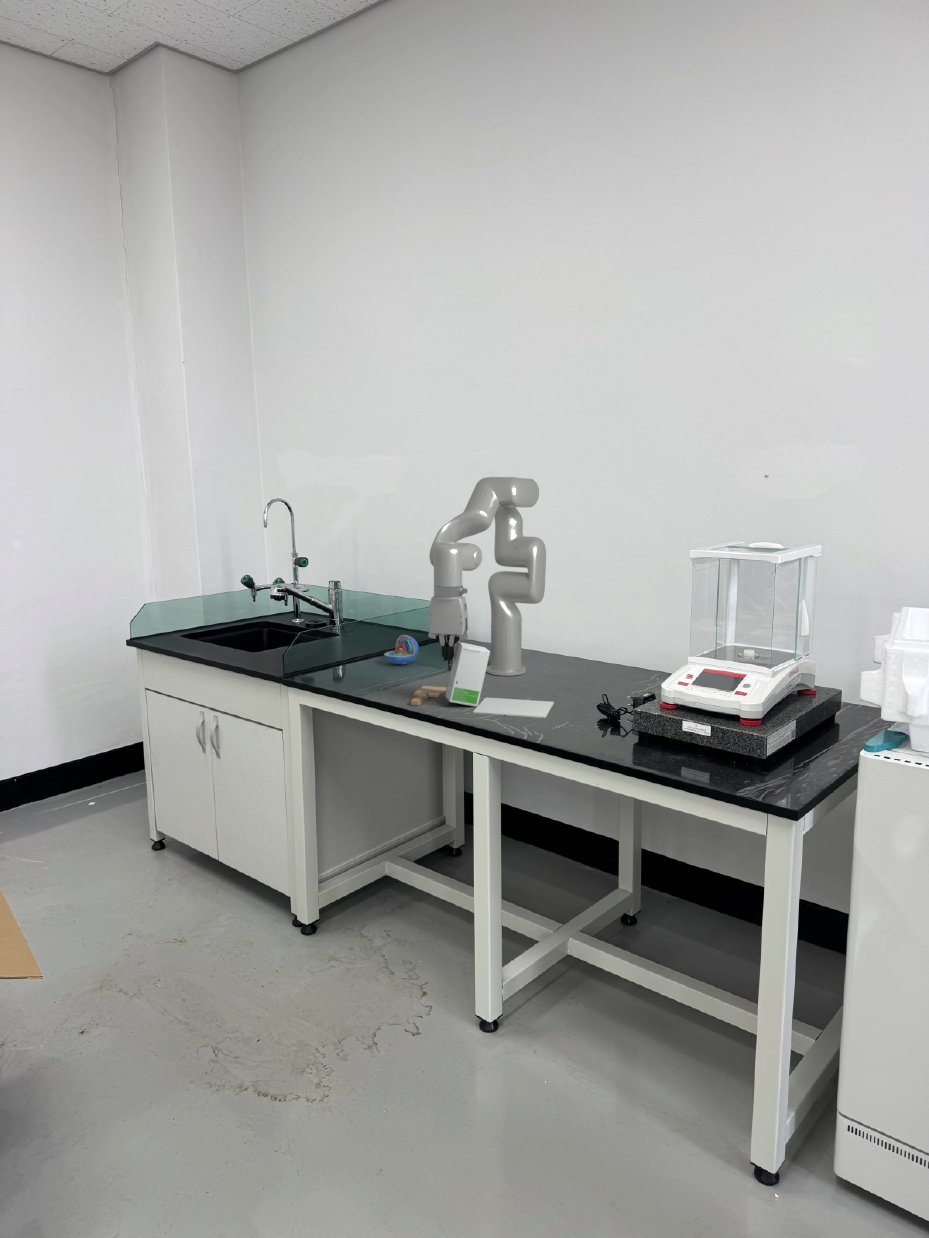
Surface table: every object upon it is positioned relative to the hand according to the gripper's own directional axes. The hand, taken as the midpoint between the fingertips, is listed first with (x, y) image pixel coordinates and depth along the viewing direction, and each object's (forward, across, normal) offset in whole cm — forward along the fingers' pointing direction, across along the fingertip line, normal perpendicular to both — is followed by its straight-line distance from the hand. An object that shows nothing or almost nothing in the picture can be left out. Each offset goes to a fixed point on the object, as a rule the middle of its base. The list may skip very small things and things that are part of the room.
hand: (448, 659), depth 233 cm
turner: (+12, +8, -6) cm, 16 cm away
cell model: (+12, +28, -43) cm, 53 cm away
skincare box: (+12, -4, 0) cm, 12 cm away
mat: (+12, -18, 0) cm, 22 cm away
